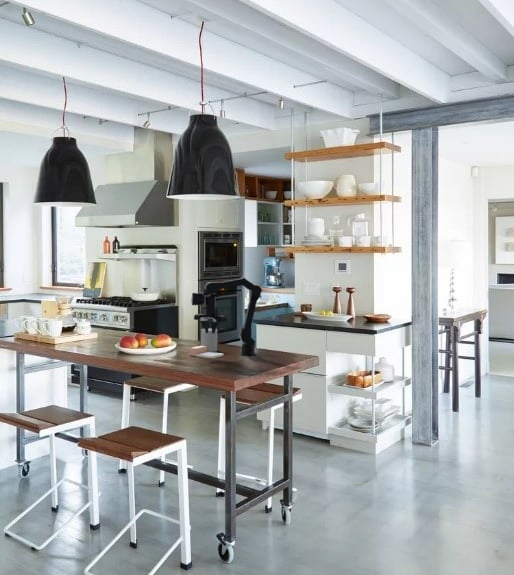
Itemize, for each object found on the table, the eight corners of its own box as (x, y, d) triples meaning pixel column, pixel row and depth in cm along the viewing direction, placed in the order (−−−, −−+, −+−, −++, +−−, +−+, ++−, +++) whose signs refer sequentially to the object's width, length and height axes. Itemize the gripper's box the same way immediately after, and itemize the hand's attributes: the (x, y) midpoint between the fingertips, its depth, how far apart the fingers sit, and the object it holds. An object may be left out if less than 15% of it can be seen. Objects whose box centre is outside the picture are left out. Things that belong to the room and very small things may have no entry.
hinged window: (223, 355, 354) (223, 353, 354) (212, 358, 346) (212, 355, 346) (207, 353, 360) (207, 351, 360) (196, 356, 351) (196, 353, 351)
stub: (206, 353, 360) (206, 346, 360) (196, 356, 352) (196, 348, 351) (200, 352, 362) (200, 345, 362) (189, 355, 354) (189, 347, 354)
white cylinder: (209, 352, 365) (209, 331, 364) (197, 350, 371) (197, 329, 370) (220, 350, 373) (220, 329, 372) (208, 348, 378) (208, 327, 377)
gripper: (232, 305, 353) (232, 333, 354) (205, 303, 363) (205, 330, 364) (221, 306, 344) (221, 335, 345) (193, 304, 353) (193, 332, 354)
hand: (210, 333), depth 352 cm, fingers open, 4 cm apart
